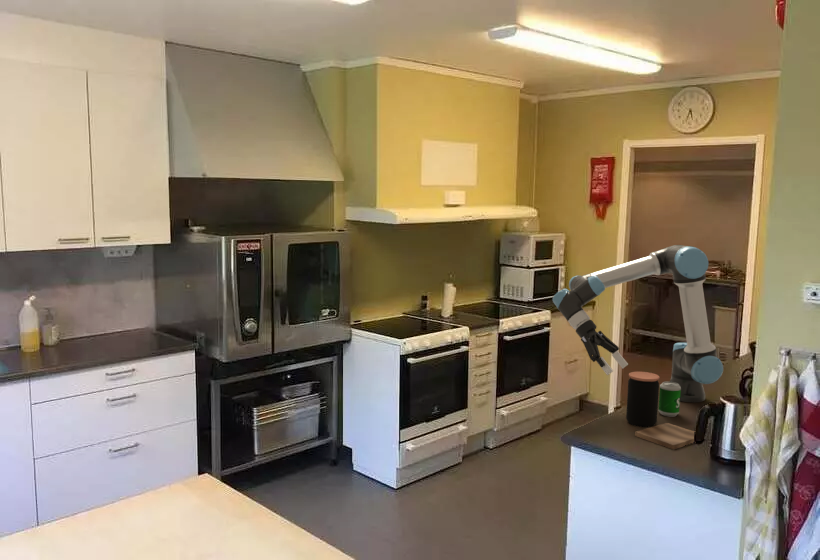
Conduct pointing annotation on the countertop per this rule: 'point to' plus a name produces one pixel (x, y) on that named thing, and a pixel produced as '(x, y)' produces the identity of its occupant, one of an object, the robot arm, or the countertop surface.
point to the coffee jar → (642, 399)
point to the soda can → (669, 399)
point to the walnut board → (667, 435)
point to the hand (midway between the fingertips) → (618, 369)
